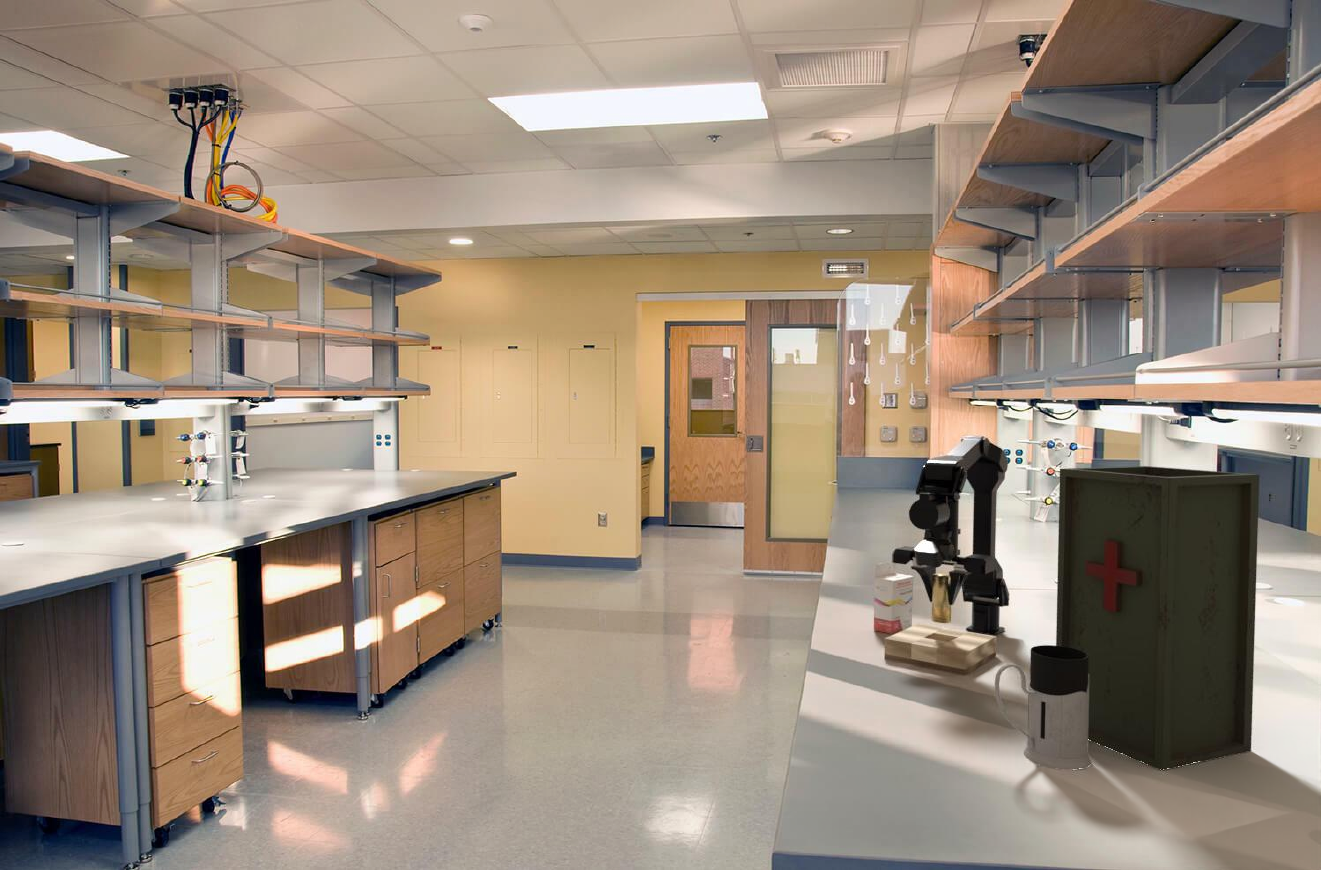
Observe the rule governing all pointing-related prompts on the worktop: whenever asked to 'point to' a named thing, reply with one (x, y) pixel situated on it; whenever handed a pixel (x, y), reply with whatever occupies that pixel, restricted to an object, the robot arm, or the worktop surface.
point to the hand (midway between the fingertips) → (941, 603)
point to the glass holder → (1055, 706)
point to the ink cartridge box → (892, 599)
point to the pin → (941, 598)
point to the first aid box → (1161, 607)
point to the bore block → (941, 648)
